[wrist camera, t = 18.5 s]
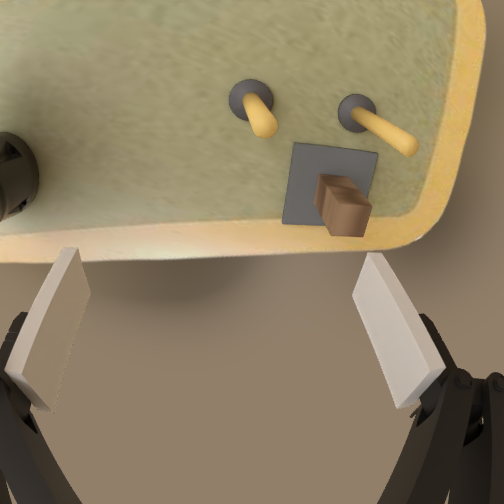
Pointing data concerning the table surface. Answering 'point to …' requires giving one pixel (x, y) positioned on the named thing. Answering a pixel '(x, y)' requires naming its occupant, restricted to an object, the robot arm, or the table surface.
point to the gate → (349, 113)
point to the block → (341, 206)
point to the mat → (322, 162)
